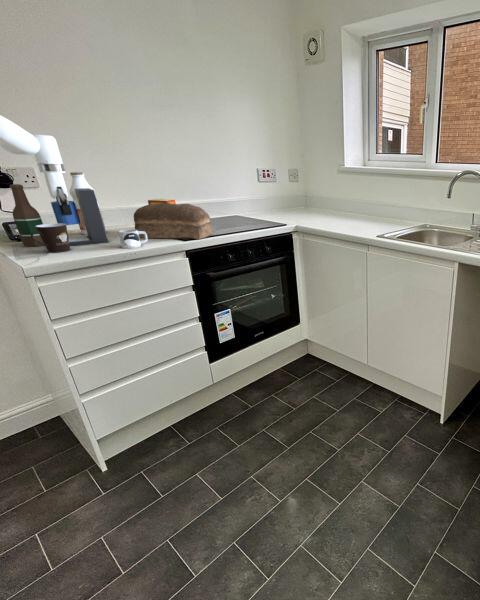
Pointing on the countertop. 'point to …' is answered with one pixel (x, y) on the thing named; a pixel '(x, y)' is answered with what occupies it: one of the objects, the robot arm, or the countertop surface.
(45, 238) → the coffee mug
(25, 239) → the beer bottle
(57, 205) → the blue cup
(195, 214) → the bread
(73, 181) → the fruit juice
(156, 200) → the baking soda box
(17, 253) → the countertop surface
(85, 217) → the dark grey upright panel
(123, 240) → the mug
